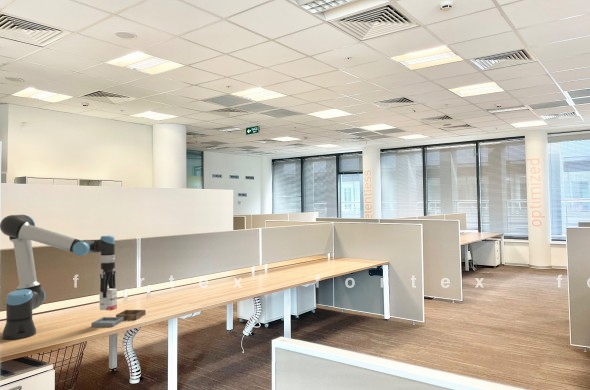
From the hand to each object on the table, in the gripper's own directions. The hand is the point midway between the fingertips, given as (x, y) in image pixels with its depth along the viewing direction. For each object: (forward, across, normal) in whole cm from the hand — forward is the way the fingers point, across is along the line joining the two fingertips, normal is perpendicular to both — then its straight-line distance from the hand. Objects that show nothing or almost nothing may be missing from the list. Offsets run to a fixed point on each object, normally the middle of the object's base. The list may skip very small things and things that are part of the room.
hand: (108, 301), depth 246 cm
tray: (+13, 0, 0) cm, 13 cm away
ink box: (+5, 0, 0) cm, 5 cm away
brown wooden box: (+13, +14, -7) cm, 20 cm away
